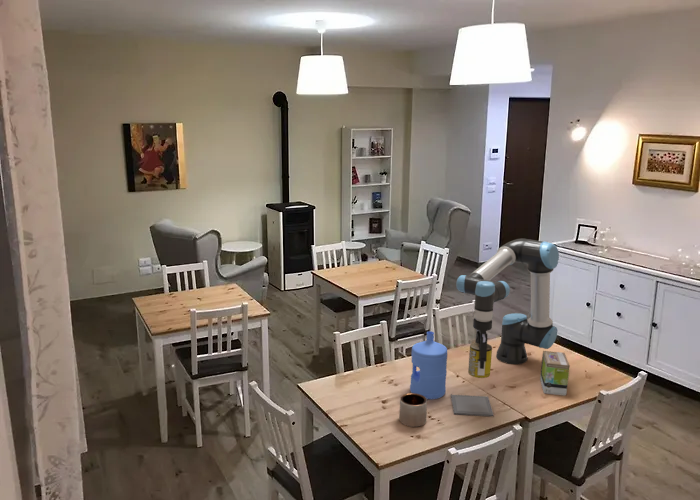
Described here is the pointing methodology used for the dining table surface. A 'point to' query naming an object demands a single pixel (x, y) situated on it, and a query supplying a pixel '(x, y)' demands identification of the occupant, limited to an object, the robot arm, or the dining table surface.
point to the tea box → (554, 373)
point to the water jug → (429, 368)
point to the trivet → (471, 405)
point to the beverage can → (474, 363)
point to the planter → (413, 410)
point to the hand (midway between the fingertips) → (479, 370)
